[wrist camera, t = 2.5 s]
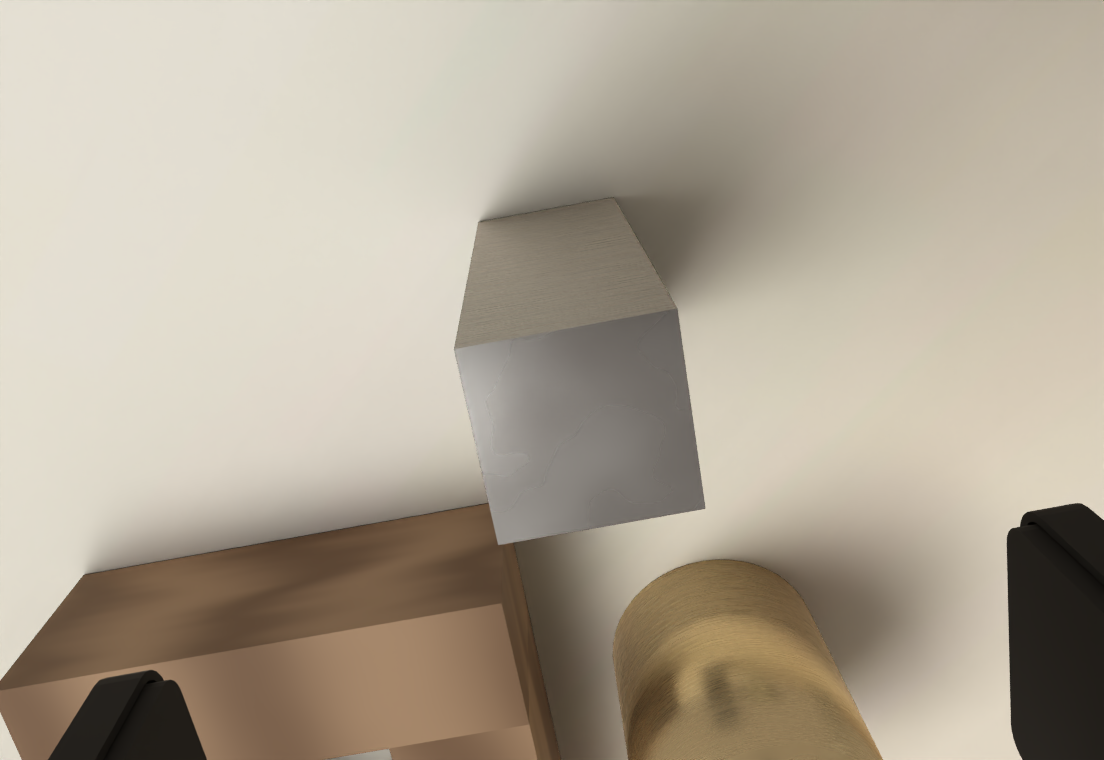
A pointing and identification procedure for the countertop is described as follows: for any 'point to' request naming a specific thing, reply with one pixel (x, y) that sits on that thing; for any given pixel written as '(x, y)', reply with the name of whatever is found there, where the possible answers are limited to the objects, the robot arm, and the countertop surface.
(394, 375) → the countertop surface
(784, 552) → the countertop surface
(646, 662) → the round bit
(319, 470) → the countertop surface
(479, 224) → the square bit
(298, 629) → the bore block
